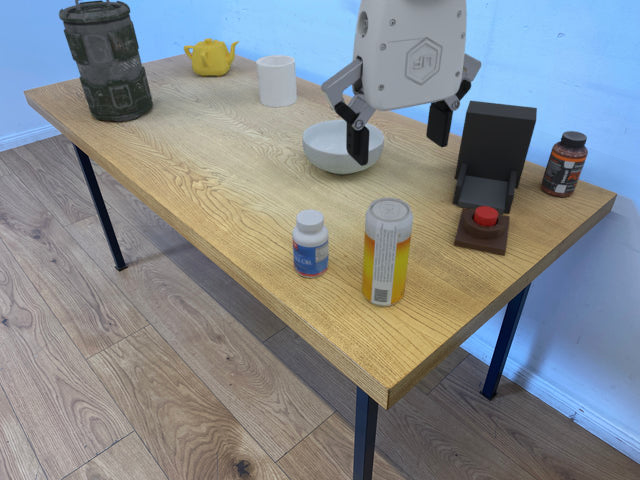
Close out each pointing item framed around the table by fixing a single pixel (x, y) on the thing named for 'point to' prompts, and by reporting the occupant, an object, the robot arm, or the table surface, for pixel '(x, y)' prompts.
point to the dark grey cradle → (492, 154)
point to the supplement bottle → (565, 164)
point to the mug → (277, 80)
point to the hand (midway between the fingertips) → (398, 150)
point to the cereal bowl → (338, 147)
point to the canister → (107, 59)
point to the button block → (482, 233)
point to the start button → (485, 216)
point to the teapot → (211, 57)
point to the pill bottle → (310, 244)
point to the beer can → (386, 250)
